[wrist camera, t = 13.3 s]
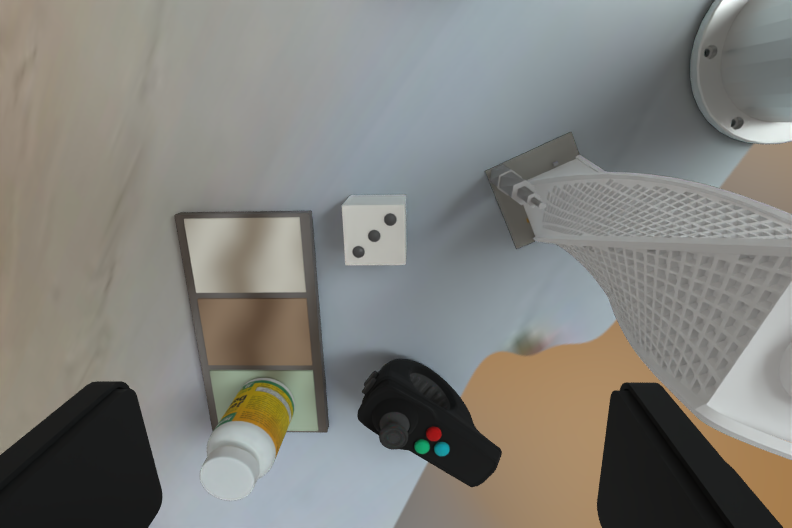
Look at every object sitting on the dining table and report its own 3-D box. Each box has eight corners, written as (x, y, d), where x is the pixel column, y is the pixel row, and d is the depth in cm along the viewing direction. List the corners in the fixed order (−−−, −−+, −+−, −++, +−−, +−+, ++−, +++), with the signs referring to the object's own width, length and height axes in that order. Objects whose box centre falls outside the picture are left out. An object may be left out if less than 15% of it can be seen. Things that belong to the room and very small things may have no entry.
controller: (387, 330, 40) (379, 397, 31) (495, 402, 42) (518, 486, 33) (360, 364, 42) (344, 438, 32) (466, 433, 43) (480, 522, 34)
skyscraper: (587, 123, 35) (1165, 151, 8) (619, 217, 37) (1156, 488, 10) (484, 170, 36) (681, 328, 9) (520, 259, 38) (764, 591, 12)
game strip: (311, 210, 37) (308, 213, 36) (328, 425, 44) (326, 433, 43) (180, 212, 38) (173, 215, 37) (217, 424, 44) (211, 432, 43)
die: (405, 194, 36) (404, 205, 32) (406, 247, 38) (405, 265, 34) (350, 195, 37) (341, 205, 32) (353, 248, 38) (345, 265, 34)
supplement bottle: (280, 434, 43) (243, 520, 34) (229, 407, 42) (177, 488, 33) (306, 392, 41) (275, 471, 32) (254, 365, 41) (207, 437, 31)
